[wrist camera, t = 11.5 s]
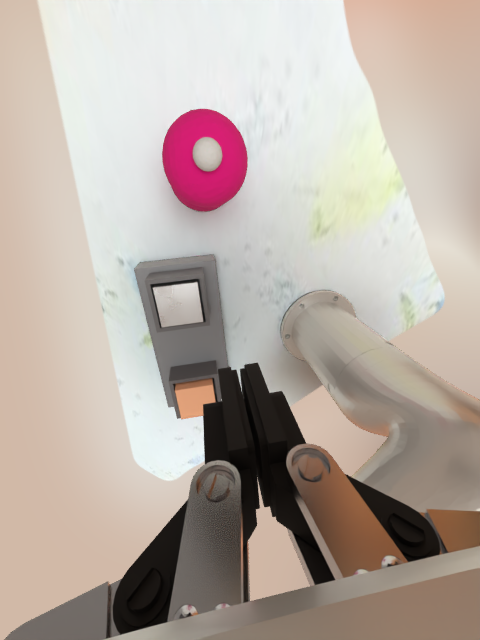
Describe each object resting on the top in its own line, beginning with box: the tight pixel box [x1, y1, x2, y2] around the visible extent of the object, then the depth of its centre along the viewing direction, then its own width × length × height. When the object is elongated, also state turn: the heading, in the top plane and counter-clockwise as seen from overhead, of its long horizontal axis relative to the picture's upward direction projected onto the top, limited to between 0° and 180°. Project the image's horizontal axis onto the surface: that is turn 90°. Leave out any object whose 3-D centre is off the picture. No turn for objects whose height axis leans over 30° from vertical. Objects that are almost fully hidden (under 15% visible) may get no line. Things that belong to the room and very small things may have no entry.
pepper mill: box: [162, 109, 247, 211], centre depth 24 cm, size 7×7×20 cm
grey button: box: [153, 279, 203, 327], centre depth 33 cm, size 5×5×3 cm
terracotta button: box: [175, 378, 216, 419], centre depth 38 cm, size 5×5×3 cm
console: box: [134, 254, 228, 419], centre depth 38 cm, size 22×10×8 cm, turn 5°
